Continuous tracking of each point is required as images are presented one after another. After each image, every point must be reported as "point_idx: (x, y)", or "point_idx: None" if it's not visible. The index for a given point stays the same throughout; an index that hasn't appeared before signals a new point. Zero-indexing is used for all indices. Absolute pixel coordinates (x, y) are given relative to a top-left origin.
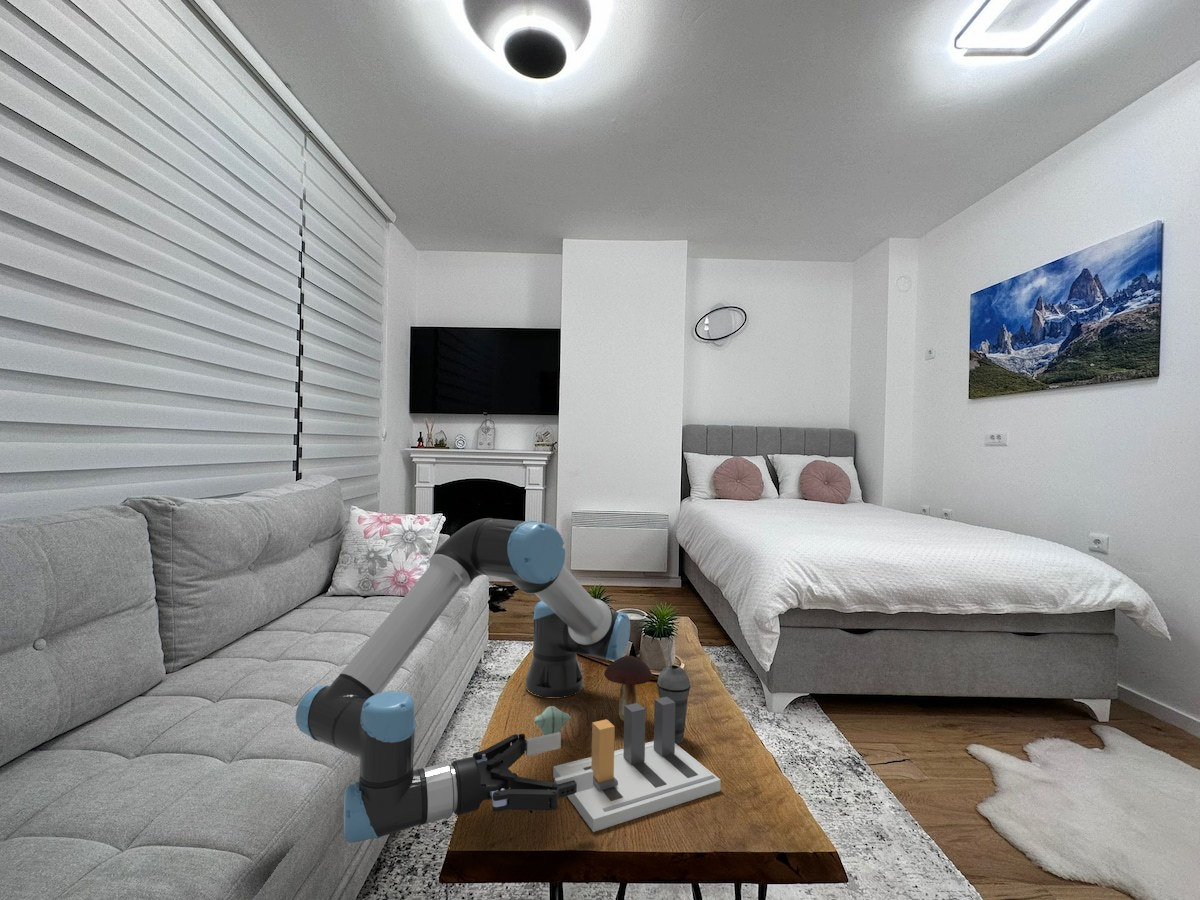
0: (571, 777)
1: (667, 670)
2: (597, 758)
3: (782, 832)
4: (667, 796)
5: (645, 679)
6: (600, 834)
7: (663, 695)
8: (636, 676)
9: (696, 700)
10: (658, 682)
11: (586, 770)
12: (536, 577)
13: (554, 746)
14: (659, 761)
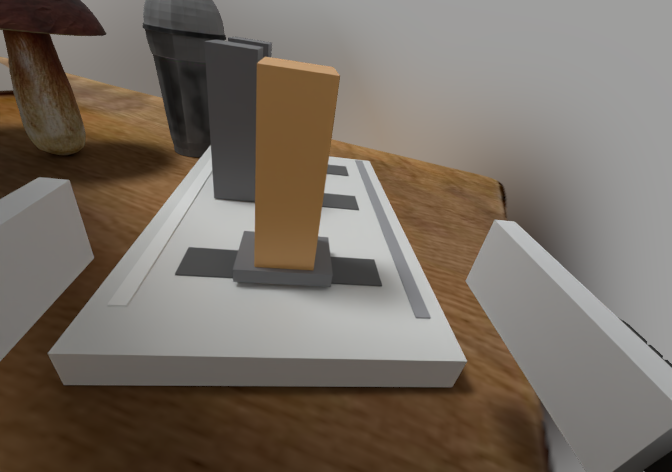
0: (603, 306)
1: None
2: (306, 203)
3: (464, 183)
4: (392, 210)
5: (100, 26)
6: (462, 372)
7: (187, 52)
8: (77, 11)
9: (133, 104)
10: (161, 21)
11: (509, 234)
12: None
13: (64, 267)
14: None
